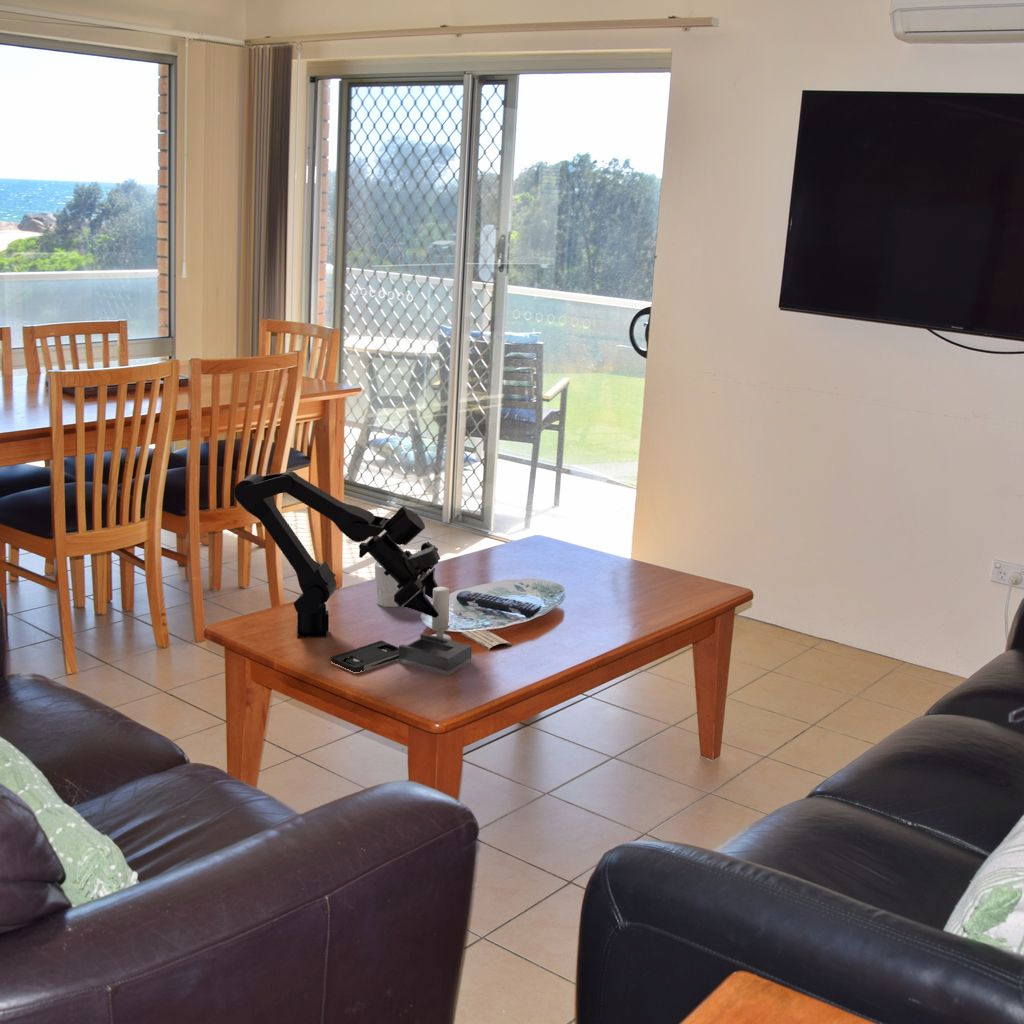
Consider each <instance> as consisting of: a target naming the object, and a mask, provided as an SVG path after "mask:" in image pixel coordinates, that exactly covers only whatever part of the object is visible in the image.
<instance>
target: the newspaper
mask: <svg viewBox="0 0 1024 1024" xmlns="http://www.w3.org/2000/svg"><path fill="white" fill-rule="evenodd" d="M487 630H488V629H486V630H476V631H466V632H462V633H461V634H460V635H462V636H463V637H465V638H467V639H469V640H471V641H473V642H474V643H476V644H477V645H479V646H481V647H483V648H484V649H486V650H487V651H490V650H491V648H493V647H495V646H497V645H500V644H504V645H506V646H512V645H513V644H512V643H510V642H509V641H507V640H505V639H504V638H502V637H500V636H499V635H497V634H495V633H493V632H491V631H490V630H488V631H487Z"/></svg>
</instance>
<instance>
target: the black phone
mask: <svg viewBox="0 0 1024 1024" xmlns="http://www.w3.org/2000/svg"><path fill="white" fill-rule="evenodd" d="M348 657H349V658H348ZM345 658H346V659H345ZM343 659H345V660H343ZM397 660H398V661H399V646H396V645H393V644H391V643H388V642H386V641H384V640H377V641H375V642H372V643H370V644H366V645H363V646H359V647H357V648H354V649H351V650H348V651H346V652H342V653H338V654H335V655H332V656H330V662H331V661H332V662H333V663H335V664H338V665H340V666H342V667H344V668H346V669H349V670H351V671H353V672H360V671H361V670H362V671H364V670H367V669H369V670H372V669H375V668H378V667H381V666H383V665H386V663H387V664H390V663H391V662H395V661H397ZM374 667H375V668H374ZM371 668H372V669H371ZM367 671H368V670H367ZM364 672H365V671H364Z"/></svg>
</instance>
